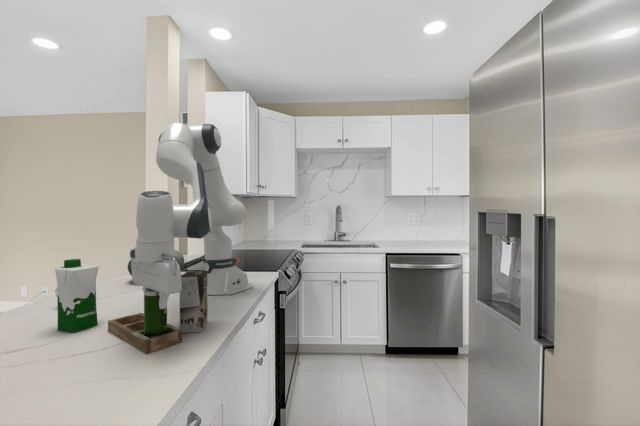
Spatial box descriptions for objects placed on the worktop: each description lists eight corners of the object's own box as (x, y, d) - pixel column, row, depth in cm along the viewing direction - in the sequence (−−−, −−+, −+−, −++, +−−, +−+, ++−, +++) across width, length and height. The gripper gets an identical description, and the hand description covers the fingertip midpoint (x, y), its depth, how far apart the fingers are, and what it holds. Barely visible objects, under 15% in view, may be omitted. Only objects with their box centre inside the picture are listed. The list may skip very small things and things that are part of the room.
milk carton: (82, 320, 102) (82, 257, 102) (103, 324, 99) (102, 259, 99) (51, 330, 94) (50, 261, 94) (72, 334, 91) (71, 263, 91)
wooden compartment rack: (141, 322, 101) (141, 312, 101) (182, 341, 86) (182, 329, 86) (108, 330, 94) (107, 319, 94) (146, 354, 79) (146, 340, 79)
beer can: (145, 340, 81) (145, 292, 81) (143, 334, 86) (142, 288, 86) (168, 336, 84) (168, 290, 84) (165, 330, 89) (165, 286, 89)
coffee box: (202, 332, 93) (202, 275, 93) (179, 333, 92) (178, 276, 92) (208, 321, 102) (208, 269, 102) (186, 322, 101) (186, 270, 101)
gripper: (188, 254, 81) (188, 310, 81) (150, 248, 93) (150, 296, 94) (162, 257, 76) (163, 316, 76) (126, 251, 89) (126, 301, 89)
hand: (155, 305), depth 85 cm, fingers closed on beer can, 5 cm apart
